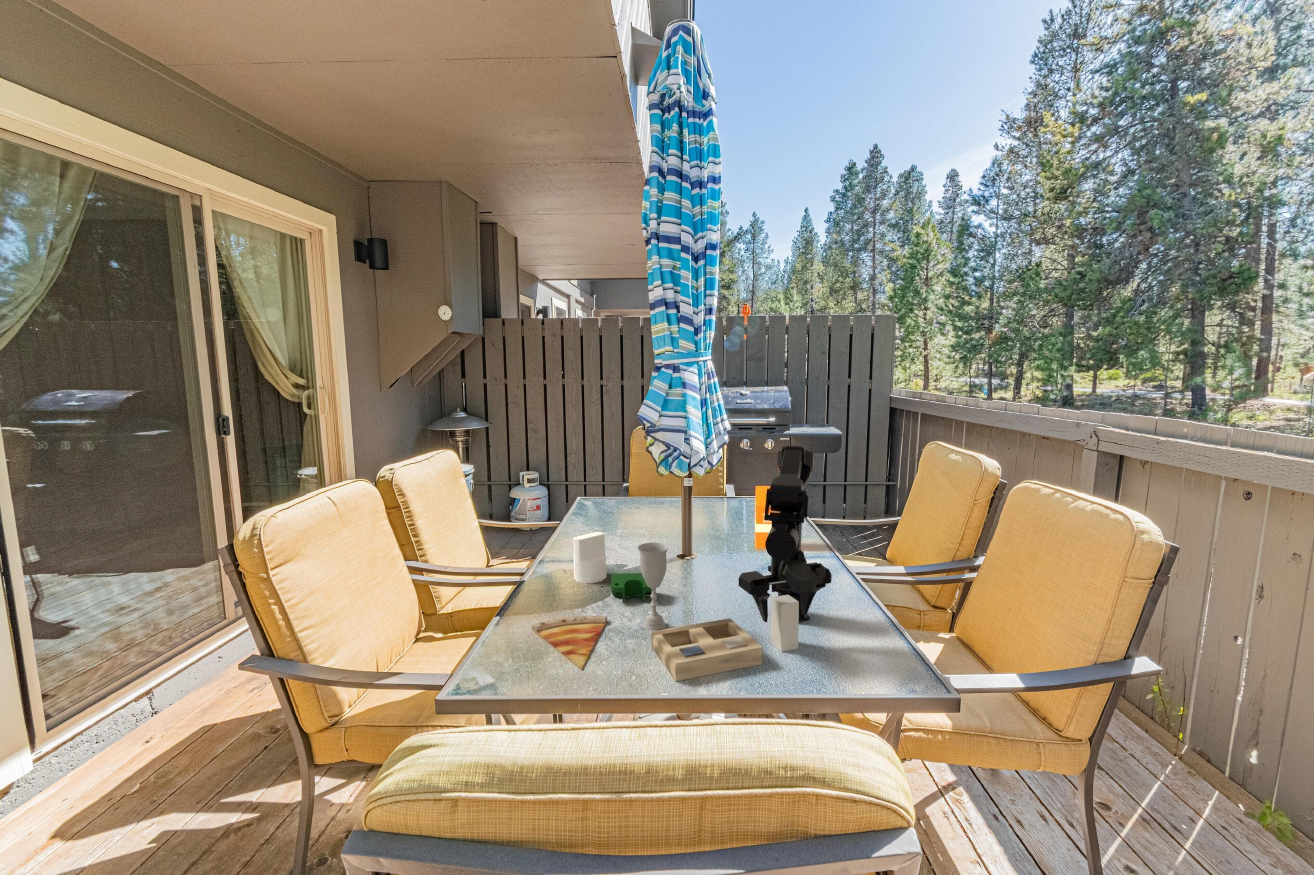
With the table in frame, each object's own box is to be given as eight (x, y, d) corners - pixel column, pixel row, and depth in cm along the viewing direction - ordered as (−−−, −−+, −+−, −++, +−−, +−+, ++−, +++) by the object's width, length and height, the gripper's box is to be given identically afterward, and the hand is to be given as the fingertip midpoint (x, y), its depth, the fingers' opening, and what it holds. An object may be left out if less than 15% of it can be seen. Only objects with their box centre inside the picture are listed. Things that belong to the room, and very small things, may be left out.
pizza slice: (503, 668, 113) (503, 658, 112) (541, 619, 134) (541, 611, 134) (581, 672, 110) (581, 662, 110) (607, 622, 132) (607, 614, 132)
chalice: (634, 621, 132) (632, 544, 130) (661, 615, 134) (660, 541, 132) (646, 634, 125) (645, 554, 123) (674, 628, 128) (673, 549, 126)
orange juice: (754, 543, 190) (755, 483, 187) (782, 544, 188) (782, 484, 186) (755, 550, 182) (755, 488, 180) (783, 551, 181) (784, 488, 179)
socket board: (651, 647, 119) (651, 630, 119) (730, 633, 125) (730, 616, 124) (675, 681, 106) (675, 662, 105) (762, 664, 112) (762, 645, 111)
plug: (770, 643, 120) (771, 597, 119) (787, 640, 121) (788, 594, 120) (781, 652, 116) (781, 604, 115) (798, 648, 118) (798, 601, 117)
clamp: (619, 618, 144) (604, 590, 141) (620, 603, 149) (605, 576, 146) (663, 600, 143) (649, 572, 140) (662, 586, 148) (648, 559, 145)
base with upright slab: (586, 585, 154) (584, 542, 153) (567, 577, 161) (566, 535, 159) (612, 577, 160) (611, 535, 158) (594, 569, 167) (593, 529, 165)
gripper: (764, 562, 106) (764, 643, 108) (849, 550, 112) (847, 627, 114) (737, 545, 116) (737, 619, 118) (816, 535, 122) (814, 605, 124)
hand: (784, 618), depth 118 cm, fingers open, 9 cm apart
